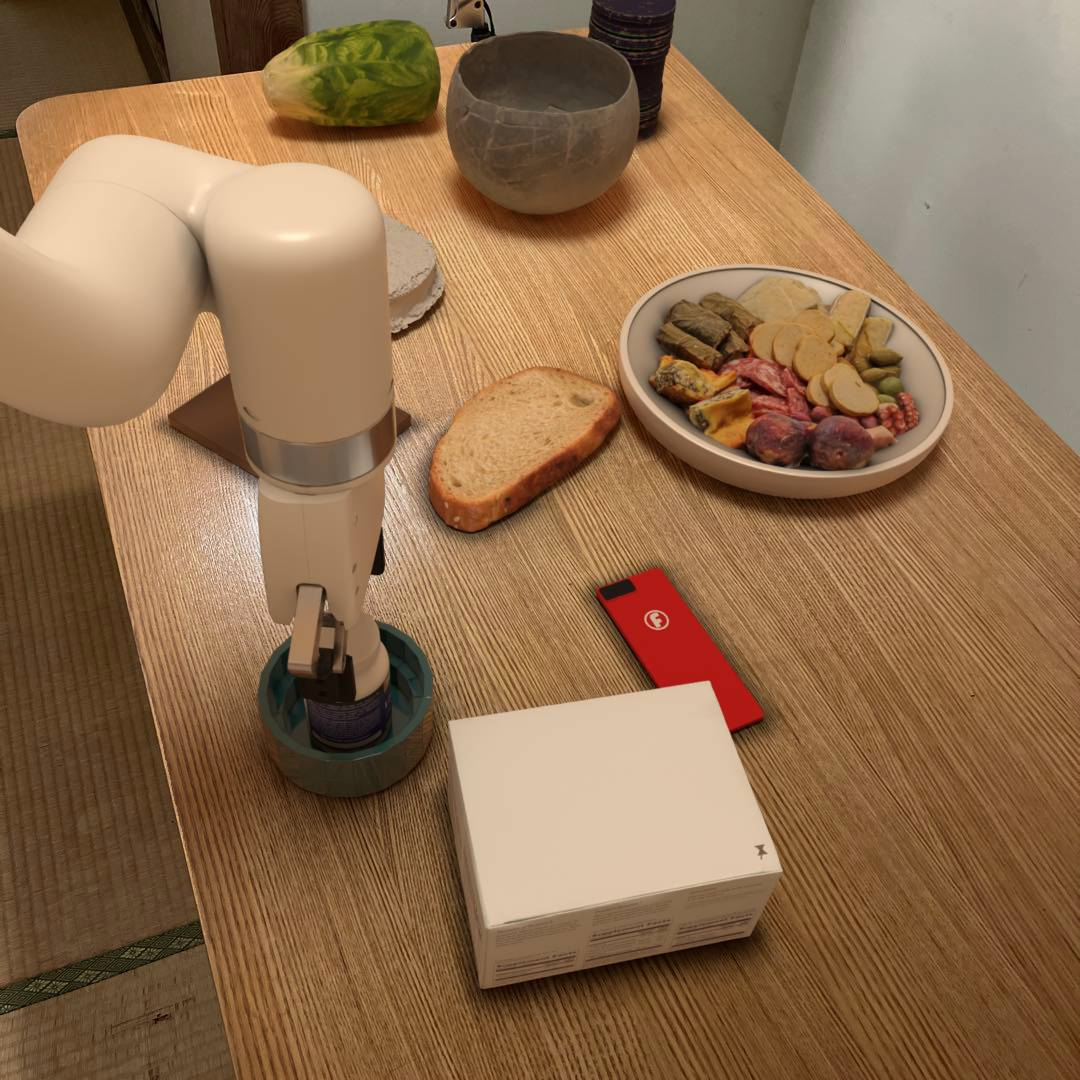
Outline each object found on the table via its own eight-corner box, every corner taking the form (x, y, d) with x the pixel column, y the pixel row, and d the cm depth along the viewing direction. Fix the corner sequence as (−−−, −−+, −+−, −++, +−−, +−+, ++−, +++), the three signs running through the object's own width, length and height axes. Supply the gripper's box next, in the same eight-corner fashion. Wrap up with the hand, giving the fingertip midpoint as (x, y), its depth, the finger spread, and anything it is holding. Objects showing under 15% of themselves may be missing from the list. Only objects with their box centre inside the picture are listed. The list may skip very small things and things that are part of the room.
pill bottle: (407, 736, 73) (404, 650, 66) (329, 774, 71) (317, 688, 63) (369, 675, 76) (362, 586, 69) (294, 709, 74) (278, 621, 66)
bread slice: (433, 535, 86) (433, 503, 83) (415, 389, 98) (414, 356, 95) (651, 521, 89) (658, 489, 86) (608, 380, 100) (613, 348, 98)
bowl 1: (488, 135, 130) (493, 6, 119) (649, 177, 126) (670, 48, 115) (414, 217, 117) (412, 80, 105) (591, 267, 113) (608, 131, 101)
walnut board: (169, 425, 92) (166, 414, 91) (276, 351, 100) (274, 341, 99) (310, 509, 87) (308, 498, 86) (411, 424, 94) (411, 414, 94)
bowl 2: (575, 319, 106) (583, 250, 101) (848, 292, 113) (871, 226, 107) (674, 541, 87) (691, 472, 82) (996, 493, 94) (1033, 426, 88)
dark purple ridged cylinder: (658, 146, 131) (683, -8, 117) (577, 138, 131) (593, -17, 117) (656, 108, 138) (680, -43, 124) (580, 100, 137) (596, -51, 124)
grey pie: (196, 305, 104) (184, 243, 98) (317, 212, 116) (311, 152, 111) (372, 376, 98) (369, 315, 93) (479, 271, 111) (481, 212, 106)
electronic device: (765, 719, 76) (658, 570, 85) (766, 714, 76) (659, 565, 85) (695, 747, 74) (593, 592, 83) (697, 743, 74) (594, 588, 83)
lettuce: (257, 110, 130) (245, 14, 121) (422, 92, 136) (421, -1, 127) (278, 157, 123) (266, 59, 114) (450, 136, 129) (451, 41, 120)
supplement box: (686, 753, 74) (712, 675, 67) (751, 939, 66) (788, 872, 59) (443, 792, 71) (444, 714, 64) (479, 993, 62) (484, 929, 56)
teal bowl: (231, 740, 72) (220, 699, 69) (342, 634, 79) (338, 591, 75) (359, 832, 69) (355, 793, 65) (465, 712, 75) (466, 671, 71)
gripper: (284, 308, 59) (314, 521, 71) (192, 543, 47) (248, 747, 60) (420, 321, 59) (427, 532, 71) (362, 559, 47) (382, 760, 60)
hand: (345, 630), depth 66 cm, fingers open, 9 cm apart
